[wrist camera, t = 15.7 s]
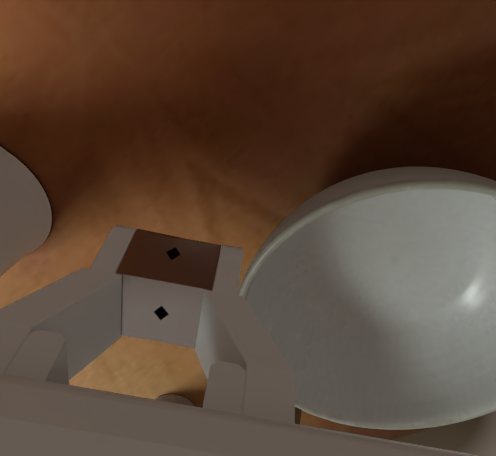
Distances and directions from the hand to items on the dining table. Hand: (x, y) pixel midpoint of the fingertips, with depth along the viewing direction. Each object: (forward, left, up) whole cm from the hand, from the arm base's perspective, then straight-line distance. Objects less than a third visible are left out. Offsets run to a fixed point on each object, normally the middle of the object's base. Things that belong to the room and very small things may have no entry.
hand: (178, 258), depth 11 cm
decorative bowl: (+16, -18, -29) cm, 38 cm away
